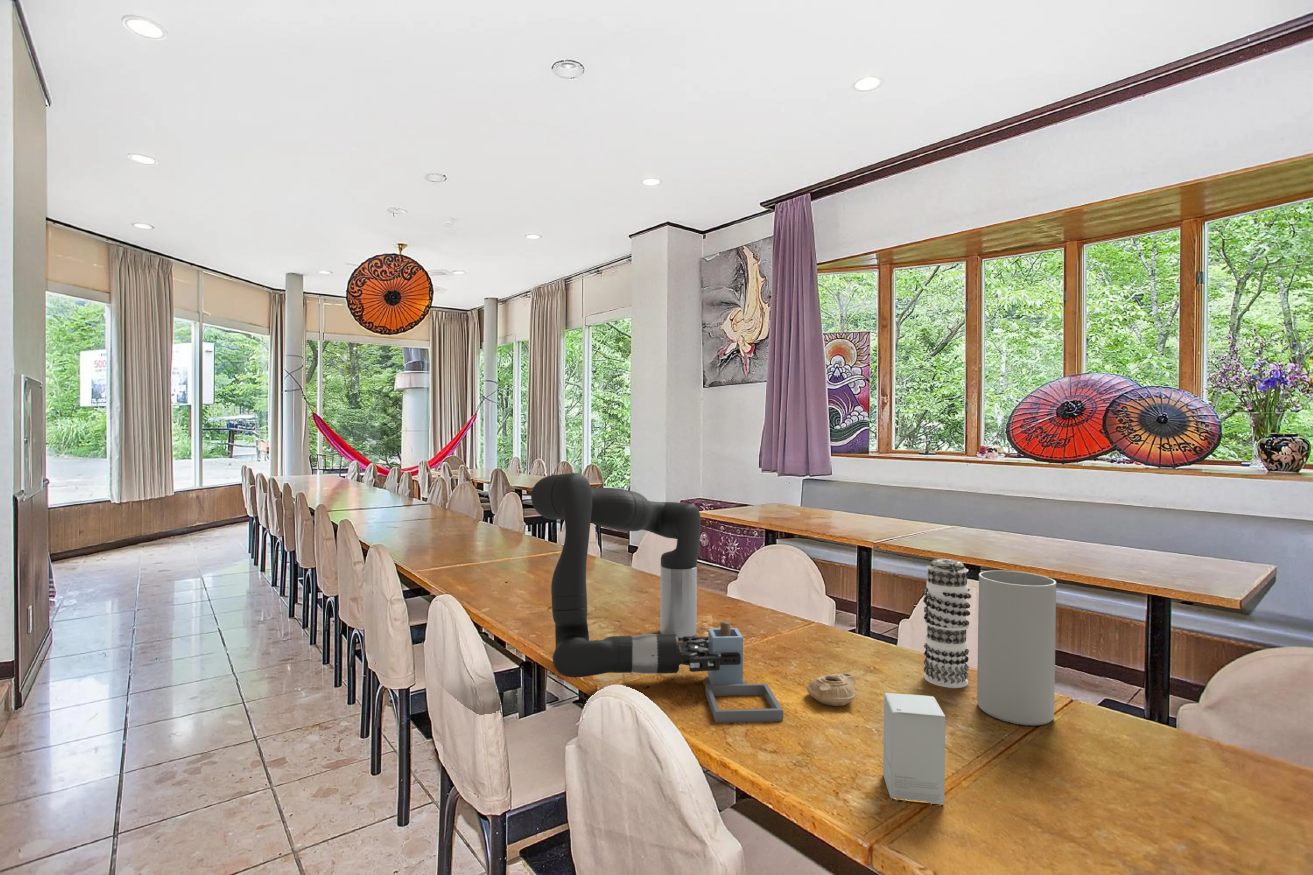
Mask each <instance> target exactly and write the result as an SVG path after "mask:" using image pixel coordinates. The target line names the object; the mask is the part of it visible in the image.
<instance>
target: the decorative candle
mask: <svg viewBox="0 0 1313 875" xmlns="http://www.w3.org/2000/svg"><path fill="white" fill-rule="evenodd" d="M925 567H926V568H927V579H926V588H925V589H923V596H924V597H923V600H922V601H923V603H924V604H925V606H924V607H923V613H924V616H923V619H924V623H925V624H926V626H927V627H926V633H927V634H926V636H925V643H924V645H923V648H924V649H925V650H924V652H923V655H924V656H925V657H924V659H923V664H924V667H923V672H924V675H923V678H924V680H925V681H926V682H928V683H930V684H931V685H935V686H939V687H941V688H942V687H943V688H946V689H949V688H950V689H960V688H962V689H963V688H965V687H967V686H968V683H969V680H968V678H969V672H968V671H969V668H970V667H969V664H967V663H968V662H969V656H968V655H969V652H970V650H969V649H968V640H967V630H969V627H970V621H969V620H967V619H966V618H967V617H968V616H970V615H971V612H970V611H969V610H967V609H970V608H971V604H970V603H969V602H968V601H967V600H969V599H972V595H971V594H970V593H969V592H970V591H971V589H970V588H969V584H968V572H969V568H966V567H965V565H964V563H963V562H962V561H961V560H960V561H959V560H956V559H951V558H936V559H933V560H932V561H931V562H930V564H928V565H926V566H925Z"/></svg>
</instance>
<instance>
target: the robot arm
mask: <svg viewBox="0 0 1313 875" xmlns="http://www.w3.org/2000/svg"><path fill="white" fill-rule="evenodd" d="M530 499H531V500H530V501H531V504H532V506H533V508H534V510H535V511H536V513H538V514H539V515H540V516H542V517H543V518H545V519H548V520H554V521H555V520H559V521H560V520H564V527H565V531H564V532H565V535H564V541H563V542H564V543H563V546H562V550H561V553H560V556H559V559H558V560H557V562H556V565H555V568H554V571H553V573H552V574H553V575H552V576H551V577H552V578H551V579H552V580H551V584H550V585H551V587H550V590H551V591H550V592H551V612H552V614H551V615H552V619H553V622H554V625H555V627H554V628H555V629H554V630H555V631H554V633H555V646H554V647H555V649H554V652H553V656H552V662H553V666H554V668H555V670H556V672H558V673H559V675H562V676H564V677H568V678H584V677H585V678H586V677H592V676H597V675H598V676H599V675H603V674H610V673H612V674H629V673H630V674H642V675H645V674H646V675H650V674H652V675H653V674H654V675H655V674H677V673H679V670H680V665H681V666H683V665H684V666H688V669H689V672H690V673H691V672H692V673H695V672H698V673H699V672H708V671H717V670H720V667H721V665H739V664H740V663H741V655H740V654H739V653H738V652H733V653H719V652H712V651H711V650H710V649H709V648H708V636H696V635H697V615H698V614H697V611H698V610H697V608H698V607H697V606H698V605H697V603H698V602H697V601H698V600H697V599H698V598H697V596H698V594H697V589H698V587H697V584H698V577H697V576H698V575H697V574H698V573H697V572H698V567H697V566H698V558H699V555H700V554H699V553H700V546H701V545H700V542H701V530H702V529H701V528H702V521H701V520H702V519H701V513H700V510H699V508H698V506H696V505H695V504H692V503H686V502H675V501H651V500H648V499H647V498H646V497H645V496H644V495H642V494H641V493H639V492H636V491H632V490H628V489H624V488H617V487H592V486H591V483H590V482H589V480H588V479H587V477H586V476H585V475H583V474H581V473H578V472H572V473H562V474H560V473H559V474H551V475H547V476H545V477H542V478H541V479H540V480H537V481H536V483H535V484H534V485H533V487H532V490H531V494H530ZM591 524H593V525H597V526H600V527H606V528H609V529H613V530H620V531H625V532H639V531H646V532H650V533H653V534H656V536H657V535H658V536H660V537H664V538H667V539H675V540H676V548H675V549H673V550H670V551H666V552H664V553H662V554H661V557H660V608H659V610H660V614H659V615H660V623H659V633H657V634H655V633H651V634H649V633H646V634H645V633H644V634H637V635H613V636H608V637H606V638H604V639H597V640H596V639H595V640H590V635H589V627H588V595H587V591H588V590H587V559H588V551H589V550H588V549H589V544H590V543H589V540H590V533H591V532H590V531H591ZM679 639H681V642H680V640H679ZM713 661H714V662H713Z"/></svg>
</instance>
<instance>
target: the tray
mask: <svg viewBox="0 0 1313 875" xmlns="http://www.w3.org/2000/svg"><path fill="white" fill-rule="evenodd" d="M704 693H705V697H706V699H707V702H708V705H709V708H710V710H711V714H712V717H713V719H714V722H715V723H741V722H742V723H743V722H745V723H746V722H781V721H782V722H784V709H783V707H782V706H781V704H780V703H779V701H778V699H777V697H776V695H775V694H774V693H773V691H772V690H771V687H770V686H769V685H768V683H747V684H713V685H706V686H705V692H704ZM759 695H761V696H764V697H765V700H766V701H767V704H768V705H769V706H770V708H743V709H742V708H741V709H740V708H738V709H736V708H735V709H733V708H732V709H720V708H719V705H718V702H717V700H716V698H715V696H719V697H720V696H723V697H725V696H759Z"/></svg>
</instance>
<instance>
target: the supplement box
mask: <svg viewBox="0 0 1313 875" xmlns="http://www.w3.org/2000/svg"><path fill="white" fill-rule="evenodd" d="M883 695H884V696H883V697H884V698H883V755H882V756H883V759H882V760H883V761H882V765H883V766H882V775H883V779H884V781H885V784H886V785H885V786H886V789H887V791H888V795H889V798H890V797H891V798H896V799H904V800H905V799H907V800H917V801H926V802H928V803H931V804H930V805H932V804H944V805H945V792H946V789H945V788H946V787H945V784H946V782H945V781H946V779H945V778H946V715H945V713H944V712H943V710H942V708H941V707H940V705H939V703H938V701H937V699H936V698H935V696H931V695H923V694H922V695H921V694H920V695H919V694H911V693H910V694H908V693H894V692H893V693H891V692H884V694H883Z"/></svg>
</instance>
